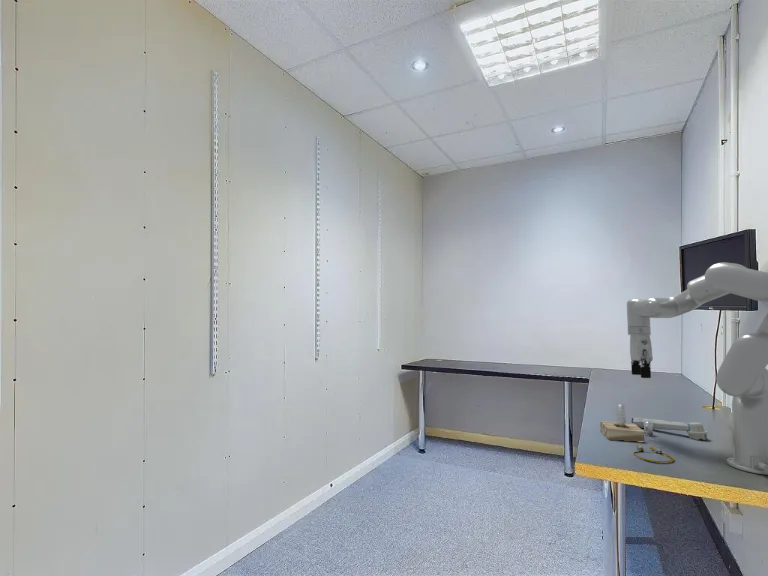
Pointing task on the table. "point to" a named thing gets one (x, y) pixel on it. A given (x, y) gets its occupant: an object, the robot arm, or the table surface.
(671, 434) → the table surface
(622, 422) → the long pin
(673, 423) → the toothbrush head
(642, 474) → the table surface
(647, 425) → the short pin
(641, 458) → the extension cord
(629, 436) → the bored block
